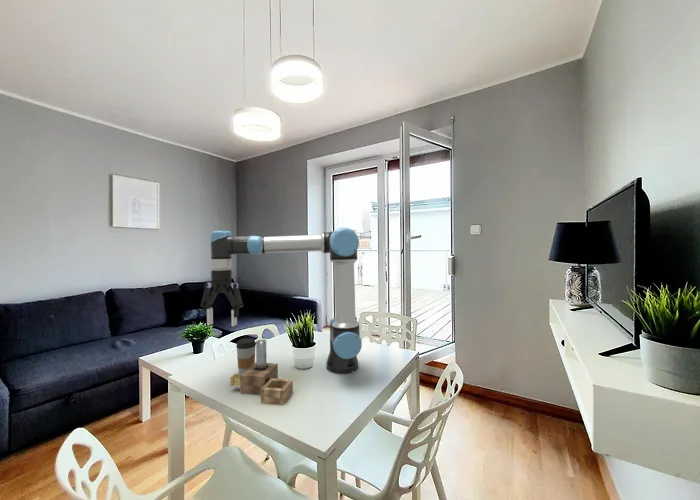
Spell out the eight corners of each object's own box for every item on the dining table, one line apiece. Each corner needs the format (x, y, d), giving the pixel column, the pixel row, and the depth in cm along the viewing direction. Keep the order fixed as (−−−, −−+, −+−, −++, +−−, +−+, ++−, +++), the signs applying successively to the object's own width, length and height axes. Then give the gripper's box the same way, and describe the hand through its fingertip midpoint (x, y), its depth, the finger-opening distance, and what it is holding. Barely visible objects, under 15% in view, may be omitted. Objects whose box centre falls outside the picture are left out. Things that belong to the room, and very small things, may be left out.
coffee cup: (250, 378, 127) (249, 344, 127) (232, 377, 129) (232, 343, 128) (259, 370, 135) (259, 338, 135) (243, 369, 137) (242, 337, 137)
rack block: (292, 392, 115) (292, 379, 115) (284, 404, 106) (284, 390, 106) (270, 390, 116) (270, 378, 116) (260, 402, 107) (260, 389, 107)
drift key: (265, 384, 117) (265, 375, 117) (262, 388, 114) (261, 379, 114) (235, 382, 119) (235, 373, 119) (230, 385, 116) (230, 377, 116)
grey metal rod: (268, 382, 123) (267, 339, 123) (264, 387, 119) (263, 343, 119) (259, 382, 124) (258, 339, 124) (254, 386, 120) (254, 342, 120)
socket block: (277, 379, 126) (277, 363, 126) (264, 395, 113) (264, 376, 113) (255, 378, 127) (255, 362, 127) (240, 393, 114) (240, 375, 114)
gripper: (252, 269, 120) (252, 323, 120) (202, 268, 123) (202, 321, 123) (242, 270, 112) (243, 328, 113) (189, 270, 116) (190, 326, 116)
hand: (222, 325), depth 118 cm, fingers open, 10 cm apart
